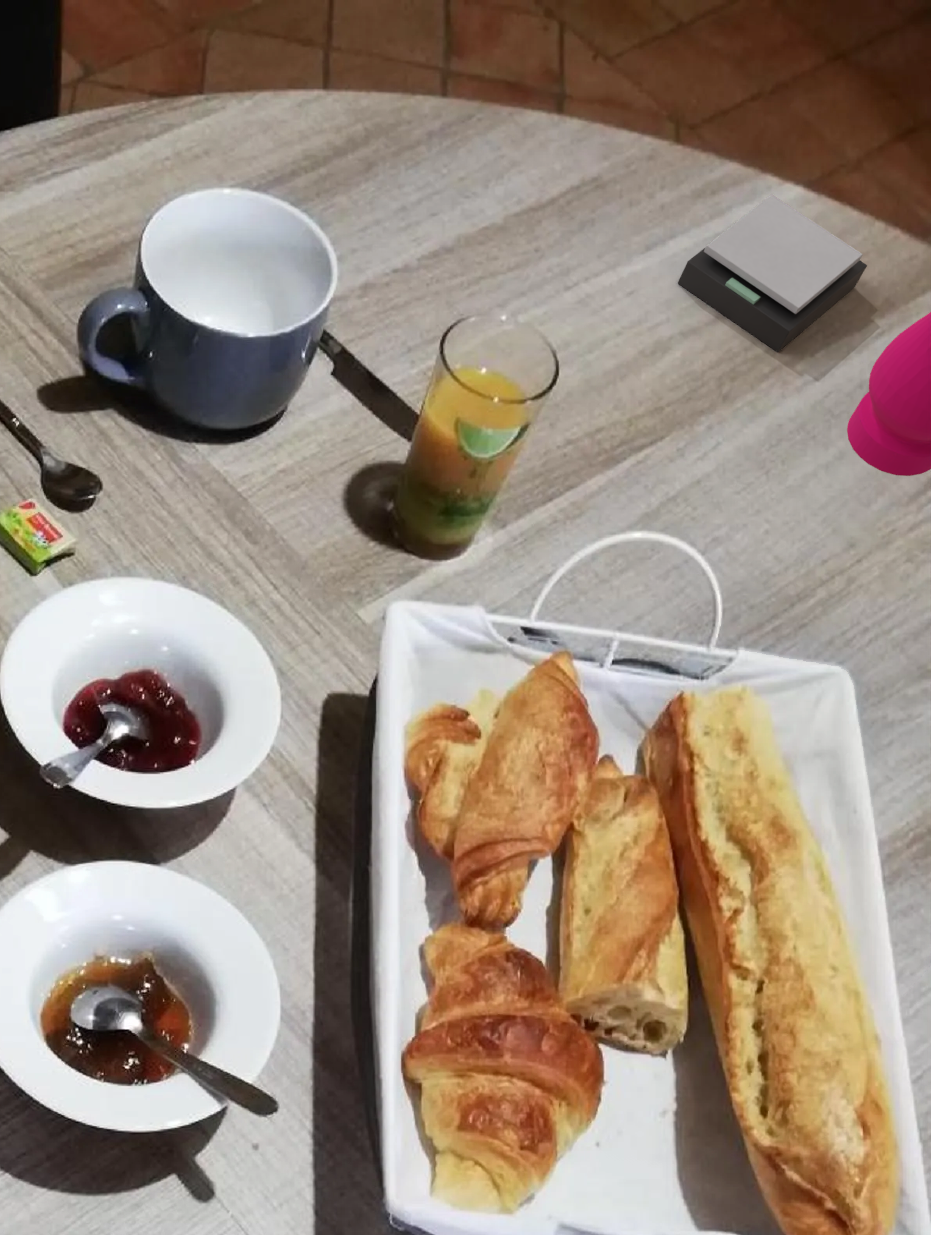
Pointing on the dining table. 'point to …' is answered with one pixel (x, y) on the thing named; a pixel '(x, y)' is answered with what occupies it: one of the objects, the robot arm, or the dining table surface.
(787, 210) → the scale
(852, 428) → the pepper mill
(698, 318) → the dining table surface
